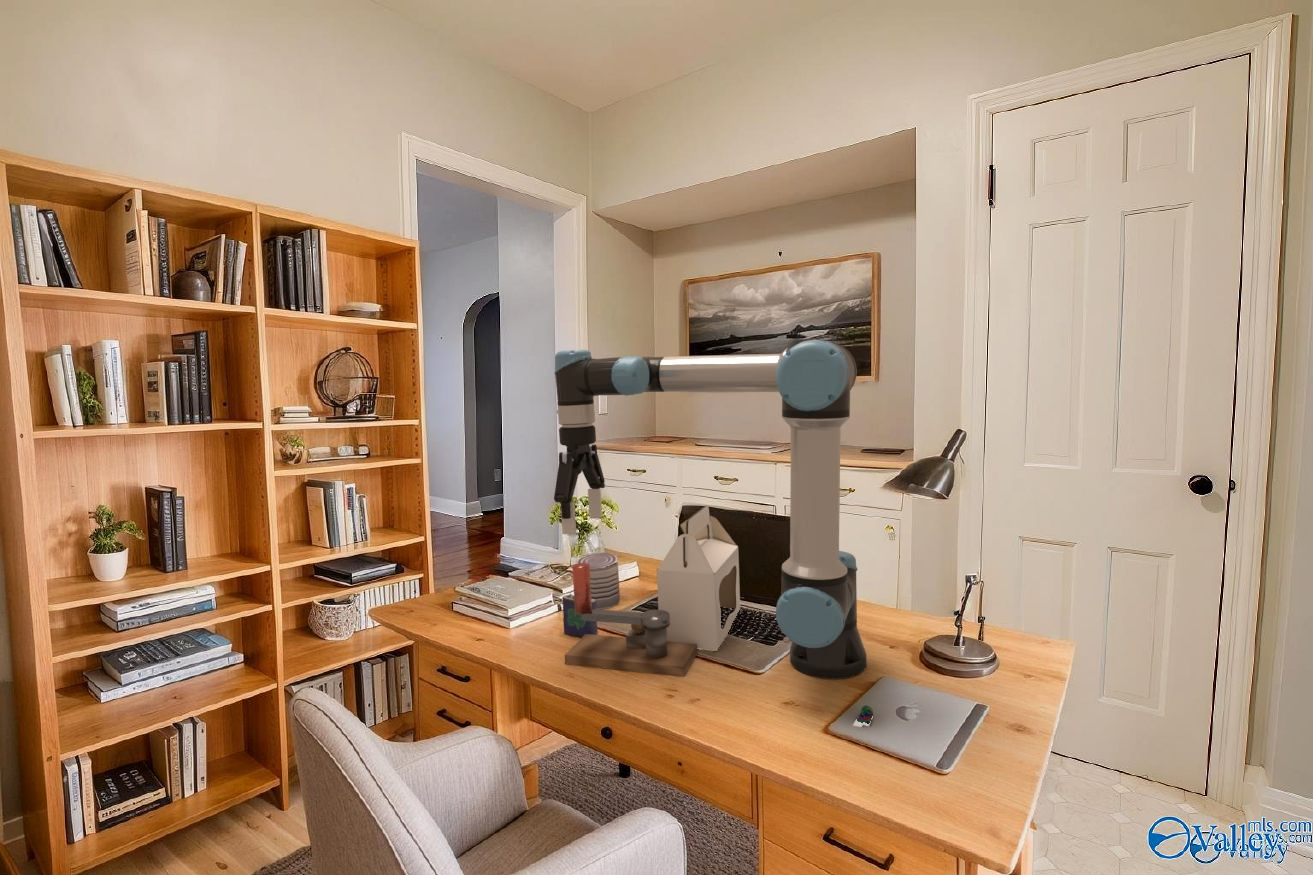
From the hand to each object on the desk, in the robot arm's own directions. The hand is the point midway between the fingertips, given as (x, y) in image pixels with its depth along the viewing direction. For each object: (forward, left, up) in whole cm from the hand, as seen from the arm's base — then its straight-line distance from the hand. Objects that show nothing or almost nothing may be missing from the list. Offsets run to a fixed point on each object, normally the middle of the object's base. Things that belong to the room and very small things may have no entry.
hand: (583, 525), depth 138 cm
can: (+11, -31, -29) cm, 44 cm away
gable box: (-20, -19, -29) cm, 40 cm away
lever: (-8, 0, -20) cm, 22 cm away
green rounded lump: (-56, +13, -30) cm, 65 cm away
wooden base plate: (-9, -1, -29) cm, 30 cm away
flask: (+7, -10, -29) cm, 32 cm away
